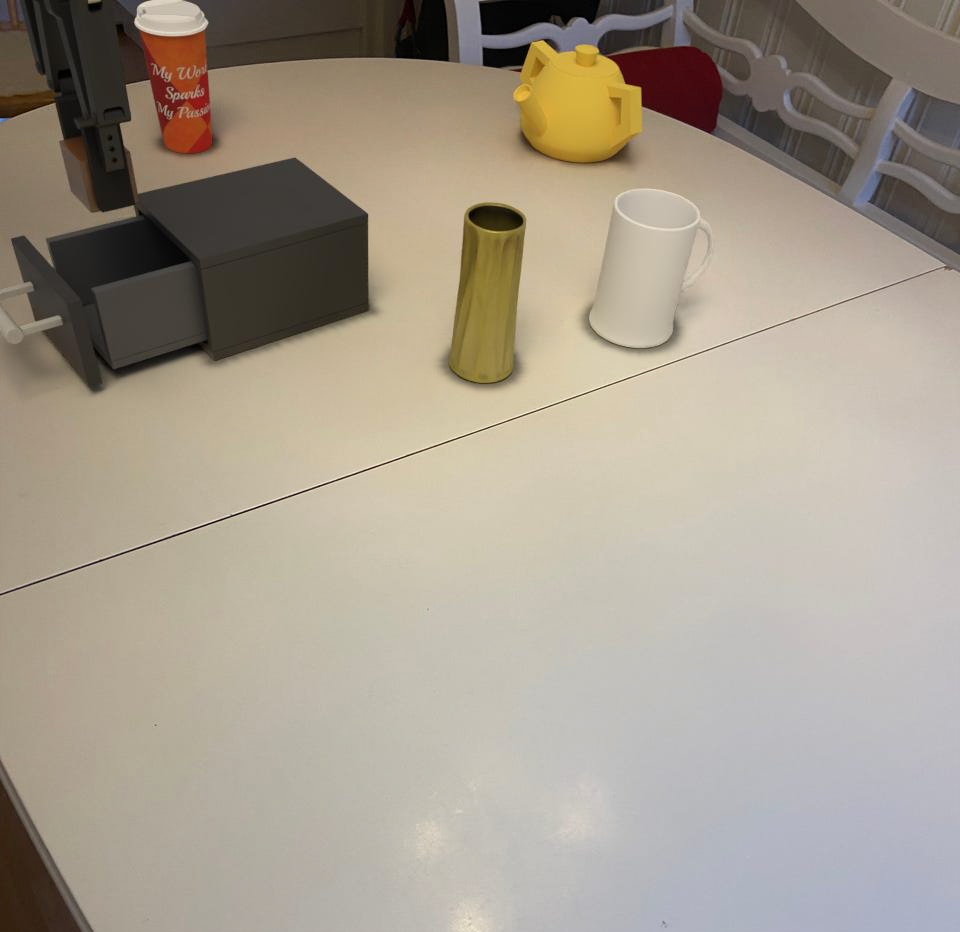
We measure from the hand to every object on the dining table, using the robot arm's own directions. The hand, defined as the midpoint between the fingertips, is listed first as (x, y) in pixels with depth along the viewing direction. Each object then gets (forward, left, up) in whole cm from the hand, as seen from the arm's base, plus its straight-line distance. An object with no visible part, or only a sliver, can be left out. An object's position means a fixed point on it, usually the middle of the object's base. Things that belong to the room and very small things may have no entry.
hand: (104, 193), depth 77 cm
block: (0, 0, 0) cm, 0 cm away
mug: (+41, +28, -14) cm, 51 cm away
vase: (+29, +13, -14) cm, 35 cm away
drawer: (-1, 0, -13) cm, 13 cm away
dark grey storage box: (+6, +12, -14) cm, 19 cm away
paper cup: (-19, +38, -14) cm, 45 cm away
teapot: (+20, +63, -14) cm, 68 cm away
